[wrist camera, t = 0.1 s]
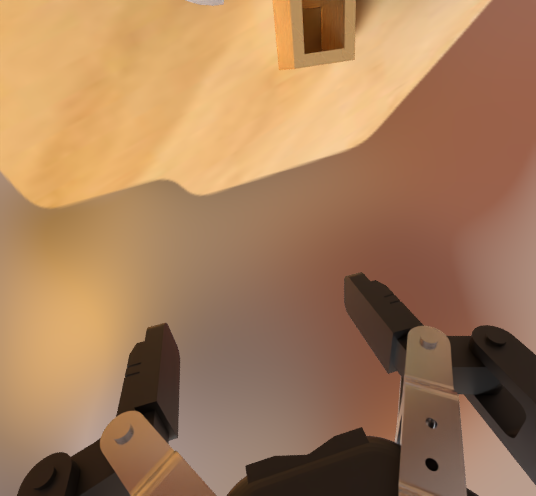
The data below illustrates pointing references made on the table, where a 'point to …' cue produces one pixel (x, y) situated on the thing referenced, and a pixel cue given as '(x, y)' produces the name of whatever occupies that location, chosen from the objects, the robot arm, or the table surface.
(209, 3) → the food container
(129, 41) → the table surface
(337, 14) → the brass collar
